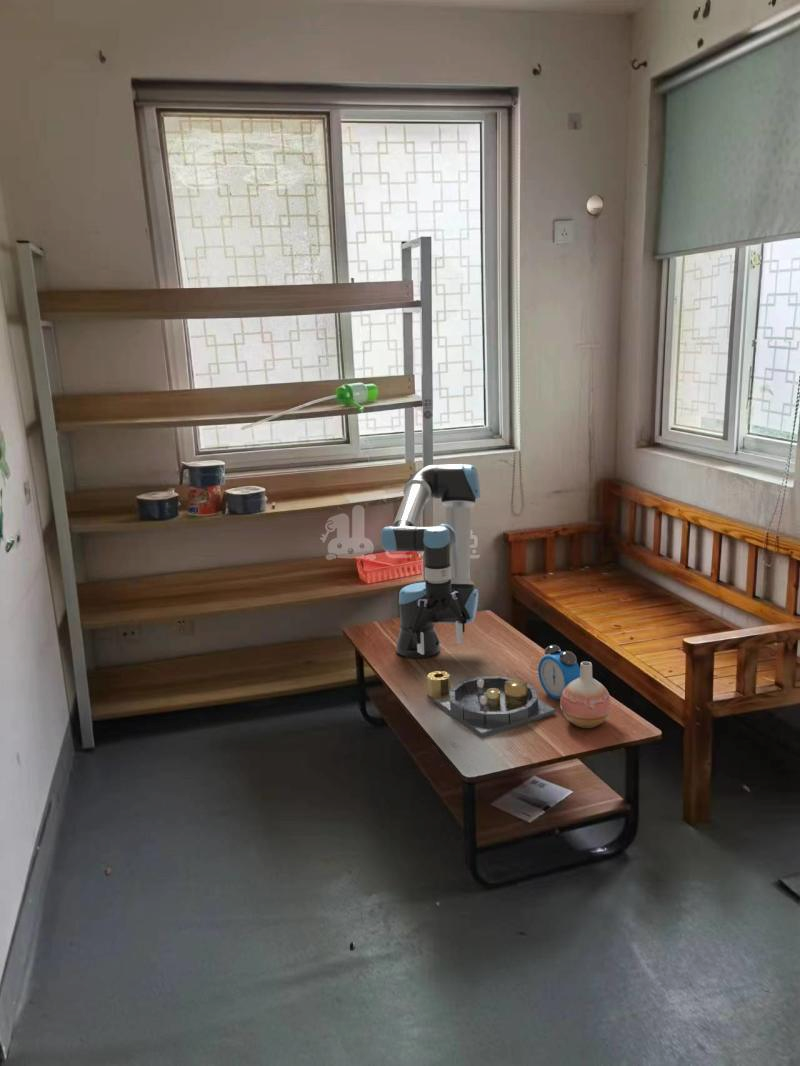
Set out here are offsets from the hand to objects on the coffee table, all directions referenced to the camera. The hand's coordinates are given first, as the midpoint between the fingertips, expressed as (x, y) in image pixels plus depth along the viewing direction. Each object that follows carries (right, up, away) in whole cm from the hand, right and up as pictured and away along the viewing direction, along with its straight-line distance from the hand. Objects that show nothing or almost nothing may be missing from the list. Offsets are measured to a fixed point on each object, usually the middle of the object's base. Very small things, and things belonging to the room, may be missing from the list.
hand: (440, 648), depth 238 cm
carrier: (+15, -16, -7) cm, 23 cm away
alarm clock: (+35, -14, -1) cm, 38 cm away
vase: (+39, -18, -18) cm, 47 cm away
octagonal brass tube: (0, -14, +4) cm, 15 cm away
